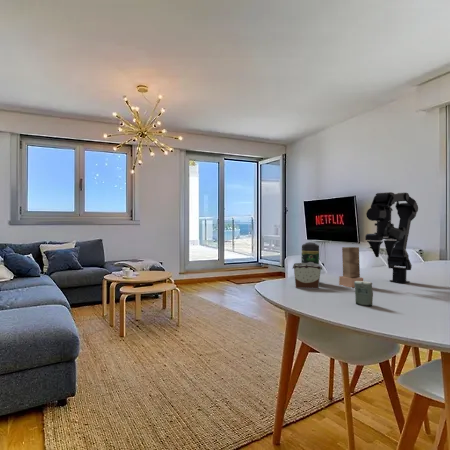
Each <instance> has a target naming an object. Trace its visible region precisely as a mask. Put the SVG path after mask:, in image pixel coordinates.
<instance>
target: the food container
mask: <svg viewBox="0 0 450 450" xmlns="http://www.w3.org/2000/svg"><path fill="white" fill-rule="evenodd" d="M291 269H292V270H293V274H294V283H295V284H294V285H295V289H313V290H314V289H316V290H317V289H319V288H320V281H321V280H320V279H321V271H323V267H322V264H320V263H319V264H314V263H301V262H296V263H293V265H292V268H291Z"/></svg>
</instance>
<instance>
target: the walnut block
mask: <svg viewBox="0 0 450 450" xmlns="http://www.w3.org/2000/svg"><path fill="white" fill-rule="evenodd" d="M341 251H342V252H341V253H342V256H341V257H342V276H344V277H349V278H354V277H361V274H360V273H361V271H360V247H357V246H355V247H354V246H347V247H345V246H344V247H341Z"/></svg>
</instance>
